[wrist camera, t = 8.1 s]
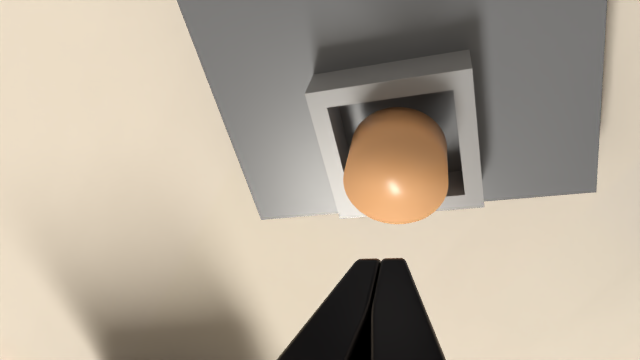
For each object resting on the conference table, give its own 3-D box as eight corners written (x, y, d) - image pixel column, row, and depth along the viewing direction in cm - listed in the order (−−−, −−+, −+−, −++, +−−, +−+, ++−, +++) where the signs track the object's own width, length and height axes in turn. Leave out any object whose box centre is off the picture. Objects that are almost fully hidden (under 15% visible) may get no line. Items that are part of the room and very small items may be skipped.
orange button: (441, 100, 16) (442, 132, 15) (451, 183, 18) (453, 220, 16) (342, 113, 17) (333, 145, 16) (361, 191, 19) (354, 227, 17)
